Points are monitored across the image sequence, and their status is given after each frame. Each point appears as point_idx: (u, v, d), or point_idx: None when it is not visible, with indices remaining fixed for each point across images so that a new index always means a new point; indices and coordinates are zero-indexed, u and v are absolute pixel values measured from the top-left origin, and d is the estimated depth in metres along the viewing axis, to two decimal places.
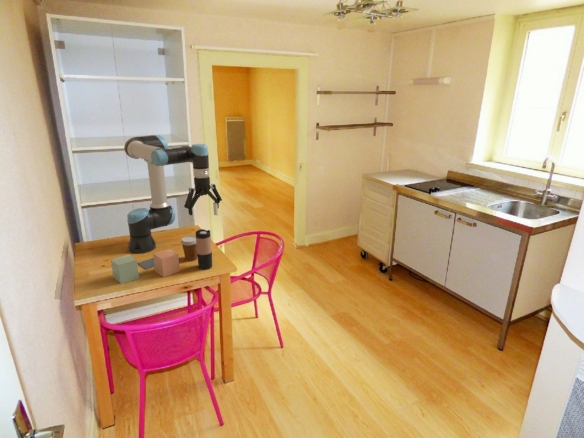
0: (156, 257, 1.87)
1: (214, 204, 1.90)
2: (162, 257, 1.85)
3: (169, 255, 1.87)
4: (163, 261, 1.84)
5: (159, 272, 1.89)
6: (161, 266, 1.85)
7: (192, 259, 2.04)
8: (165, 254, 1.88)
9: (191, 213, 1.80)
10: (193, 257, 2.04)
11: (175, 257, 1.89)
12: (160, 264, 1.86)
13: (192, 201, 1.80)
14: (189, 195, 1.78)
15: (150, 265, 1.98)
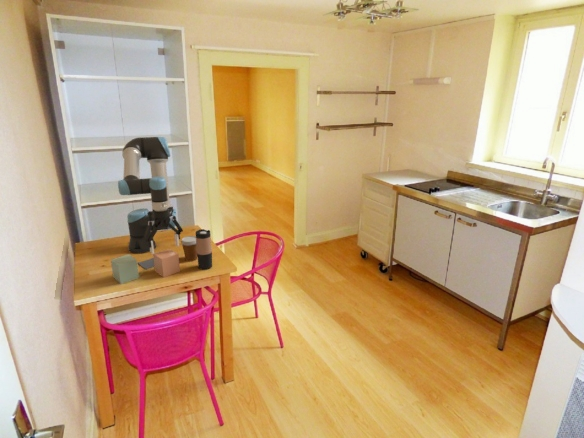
0: (156, 257, 1.87)
1: (175, 235, 1.91)
2: (162, 257, 1.85)
3: (169, 255, 1.87)
4: (163, 261, 1.84)
5: (159, 272, 1.89)
6: (161, 266, 1.85)
7: (192, 259, 2.04)
8: (165, 254, 1.88)
9: (150, 246, 1.81)
10: (193, 257, 2.04)
11: (175, 257, 1.89)
12: (160, 264, 1.86)
13: (151, 234, 1.80)
14: (147, 228, 1.79)
15: (150, 265, 1.98)
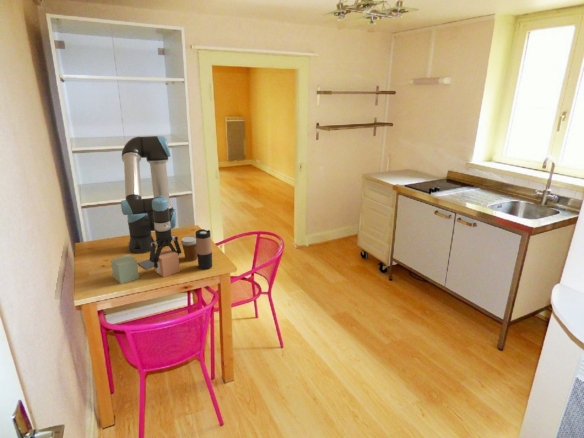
0: None
1: None
2: (162, 257, 1.85)
3: (169, 255, 1.87)
4: (163, 261, 1.84)
5: None
6: (161, 266, 1.85)
7: (192, 259, 2.04)
8: (165, 254, 1.88)
9: (156, 266, 1.86)
10: (193, 257, 2.04)
11: (175, 257, 1.89)
12: (160, 264, 1.86)
13: (156, 254, 1.85)
14: (151, 249, 1.83)
15: (150, 265, 1.98)
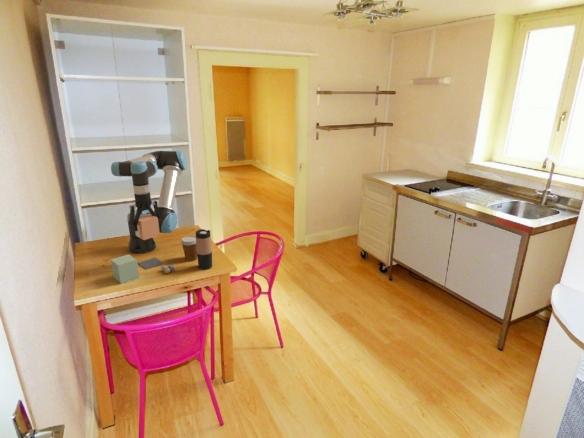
0: None
1: None
2: (141, 220, 1.88)
3: (149, 218, 1.91)
4: (142, 224, 1.87)
5: None
6: (141, 229, 1.89)
7: (192, 259, 2.04)
8: (145, 218, 1.91)
9: (136, 229, 1.90)
10: (193, 257, 2.04)
11: (155, 221, 1.92)
12: (139, 227, 1.89)
13: (135, 218, 1.89)
14: (131, 212, 1.86)
15: (150, 265, 1.98)
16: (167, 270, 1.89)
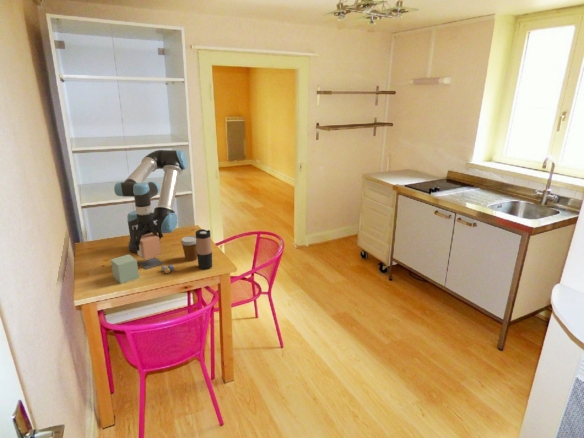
0: None
1: None
2: (143, 240, 1.92)
3: (150, 238, 1.94)
4: (144, 244, 1.91)
5: None
6: (142, 249, 1.92)
7: (192, 259, 2.04)
8: (146, 237, 1.95)
9: (138, 249, 1.93)
10: (193, 257, 2.04)
11: (156, 241, 1.95)
12: (141, 246, 1.92)
13: (137, 237, 1.92)
14: (133, 232, 1.90)
15: (150, 265, 1.98)
16: (167, 270, 1.89)
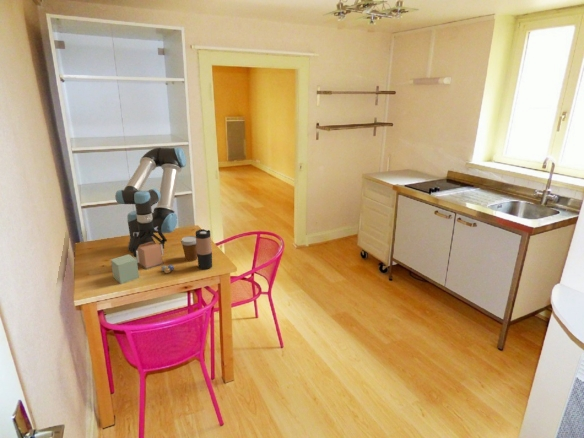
0: (139, 249, 1.95)
1: None
2: (144, 249, 1.93)
3: (152, 247, 1.96)
4: (145, 253, 1.93)
5: (142, 263, 1.97)
6: (144, 257, 1.94)
7: (192, 259, 2.04)
8: (147, 246, 1.97)
9: (135, 255, 1.93)
10: (193, 257, 2.04)
11: (157, 249, 1.97)
12: (142, 255, 1.94)
13: (136, 244, 1.92)
14: (133, 239, 1.90)
15: None
16: (167, 270, 1.89)
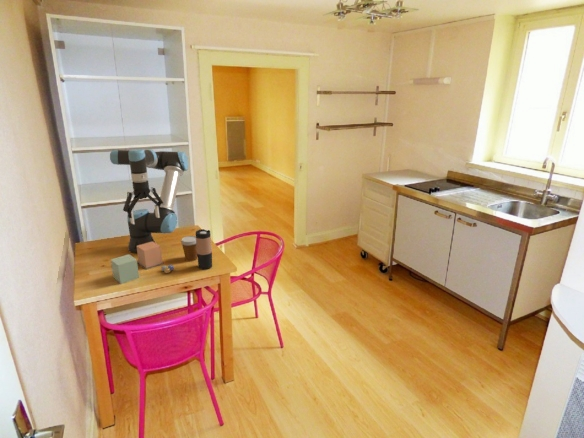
0: (139, 249, 1.95)
1: (155, 207, 1.97)
2: (144, 249, 1.93)
3: (152, 247, 1.96)
4: (145, 253, 1.93)
5: (142, 263, 1.97)
6: (144, 257, 1.94)
7: (192, 259, 2.04)
8: (147, 246, 1.97)
9: (130, 216, 1.87)
10: (193, 257, 2.04)
11: (157, 249, 1.97)
12: (142, 255, 1.94)
13: (131, 204, 1.86)
14: (127, 199, 1.84)
15: None
16: (167, 270, 1.89)
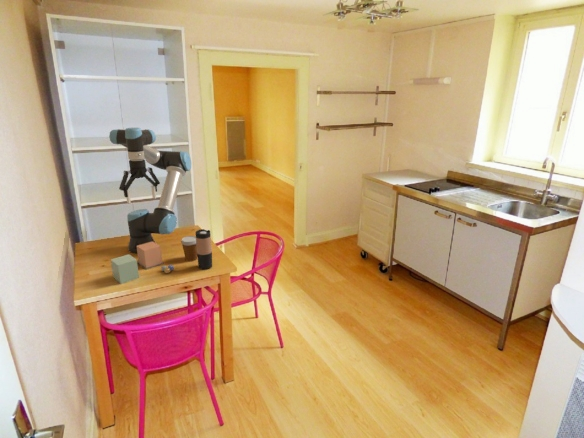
0: (139, 249, 1.95)
1: (152, 187, 1.95)
2: (144, 249, 1.93)
3: (152, 247, 1.96)
4: (145, 253, 1.93)
5: (142, 263, 1.97)
6: (144, 257, 1.94)
7: (192, 259, 2.04)
8: (147, 246, 1.97)
9: (126, 195, 1.85)
10: (193, 257, 2.04)
11: (157, 249, 1.97)
12: (142, 255, 1.94)
13: (127, 183, 1.85)
14: (124, 177, 1.83)
15: None
16: (167, 270, 1.89)
